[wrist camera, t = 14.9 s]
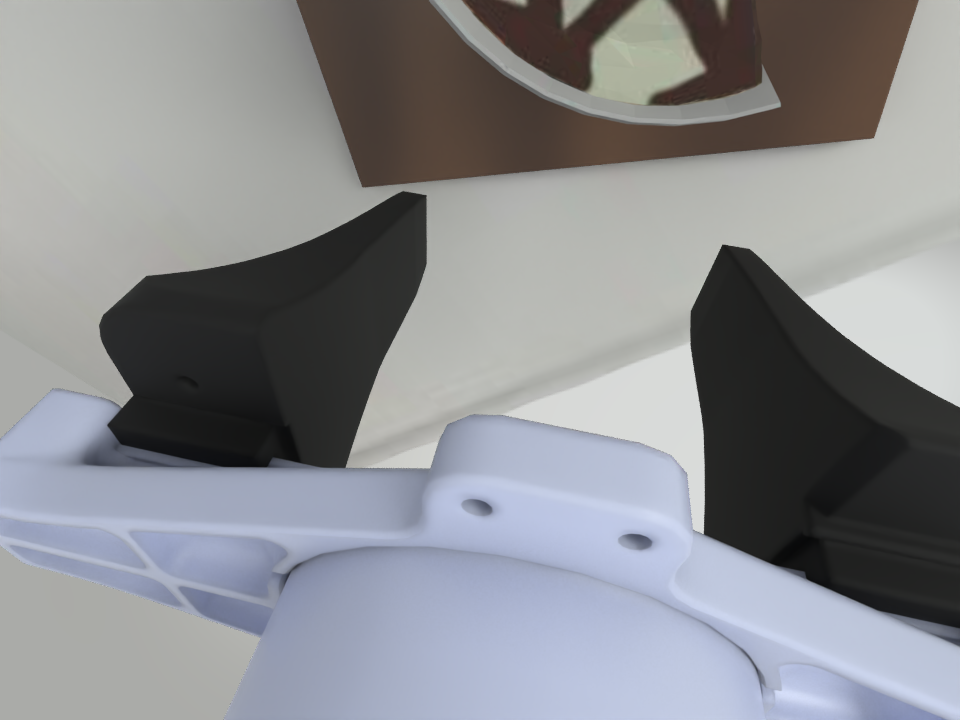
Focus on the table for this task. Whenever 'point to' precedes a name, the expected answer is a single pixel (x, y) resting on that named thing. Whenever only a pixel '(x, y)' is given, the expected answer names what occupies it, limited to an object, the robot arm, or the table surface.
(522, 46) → the food container
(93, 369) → the table surface
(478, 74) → the walnut board
